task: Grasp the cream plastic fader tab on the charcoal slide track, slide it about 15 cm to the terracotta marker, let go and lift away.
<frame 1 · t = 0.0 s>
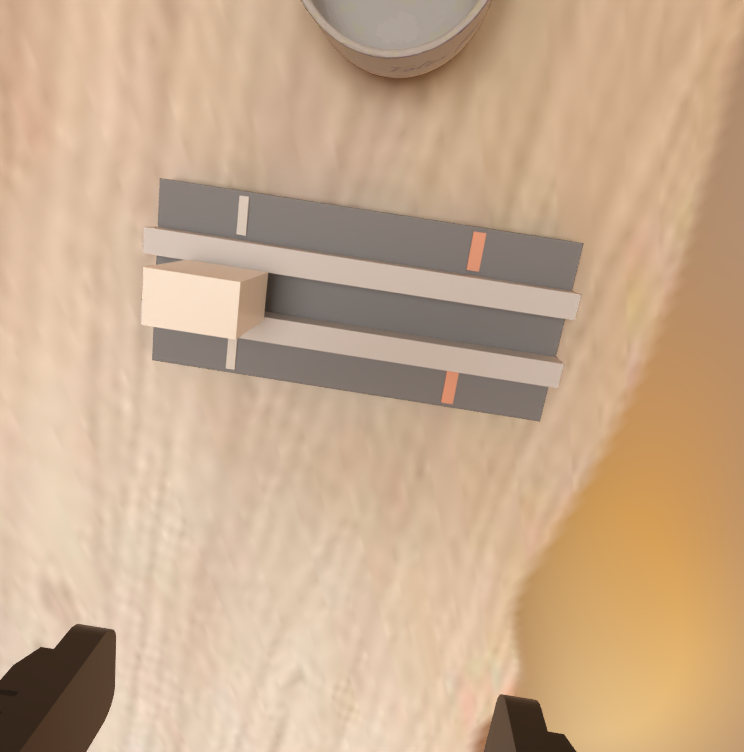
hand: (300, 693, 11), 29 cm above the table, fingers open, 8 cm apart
track: (359, 300, 39), on the table
fader: (216, 294, 33), point 6 cm above the table, slide at 0.0 cm
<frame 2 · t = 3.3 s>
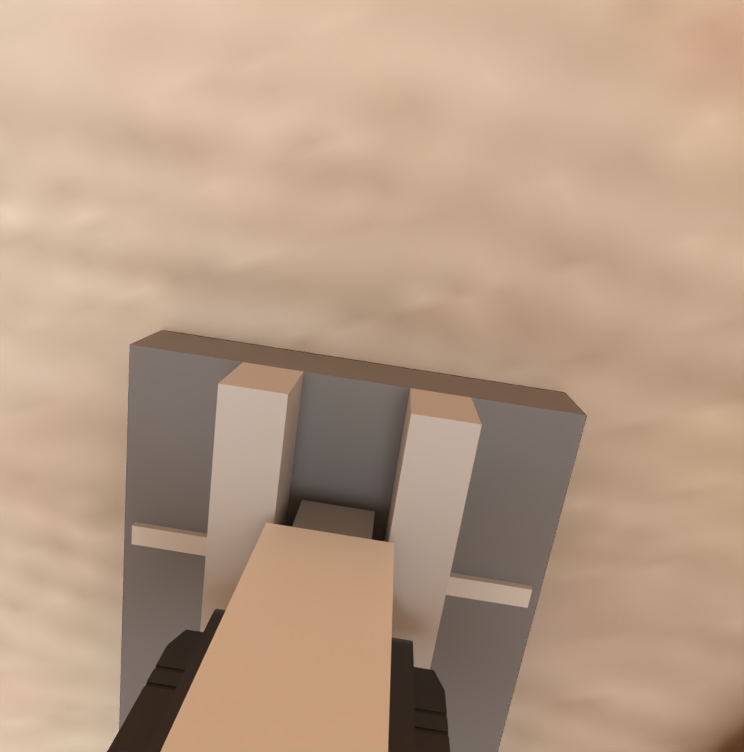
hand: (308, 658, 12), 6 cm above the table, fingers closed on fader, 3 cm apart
track: (310, 721, 20), on the table
fader: (303, 685, 12), point 6 cm above the table, slide at 0.0 cm, touching gripper
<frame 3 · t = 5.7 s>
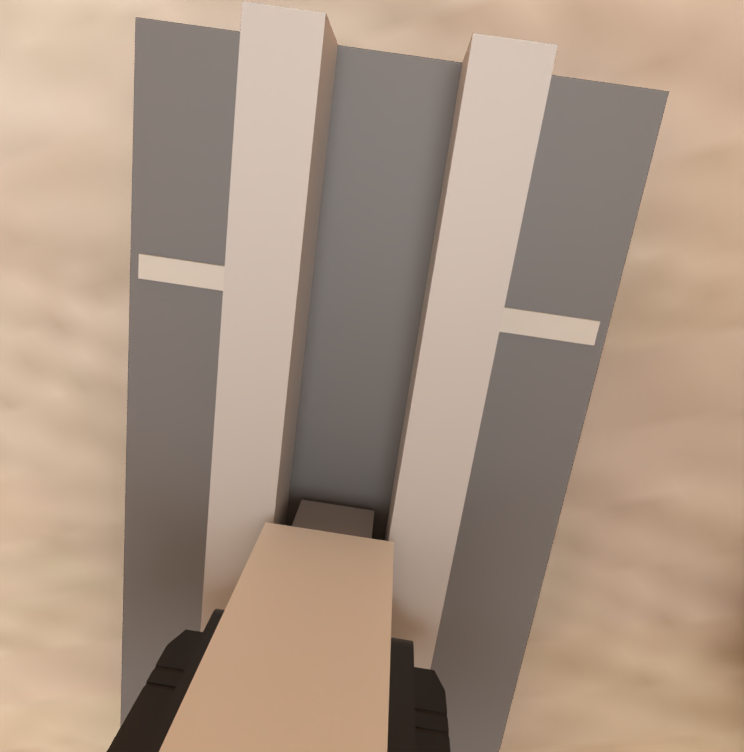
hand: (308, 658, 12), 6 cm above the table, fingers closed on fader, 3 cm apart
track: (337, 536, 18), on the table
fader: (303, 685, 12), point 6 cm above the table, slide at 7.6 cm, touching gripper
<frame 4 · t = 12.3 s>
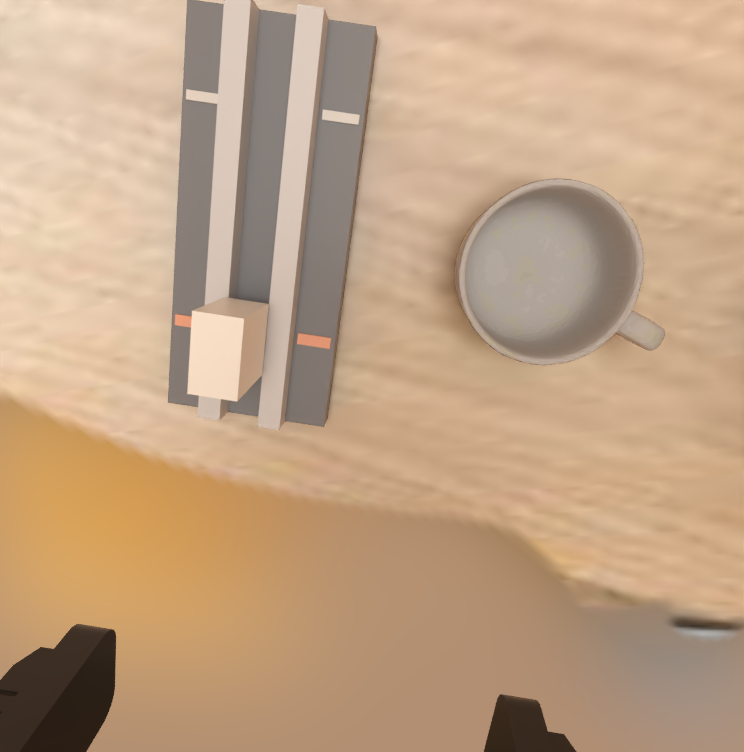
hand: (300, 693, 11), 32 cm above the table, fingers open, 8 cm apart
track: (268, 232, 41), on the table
fader: (235, 342, 36), point 6 cm above the table, slide at 14.9 cm
teacup: (539, 280, 41), on the table
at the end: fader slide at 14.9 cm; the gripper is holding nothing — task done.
